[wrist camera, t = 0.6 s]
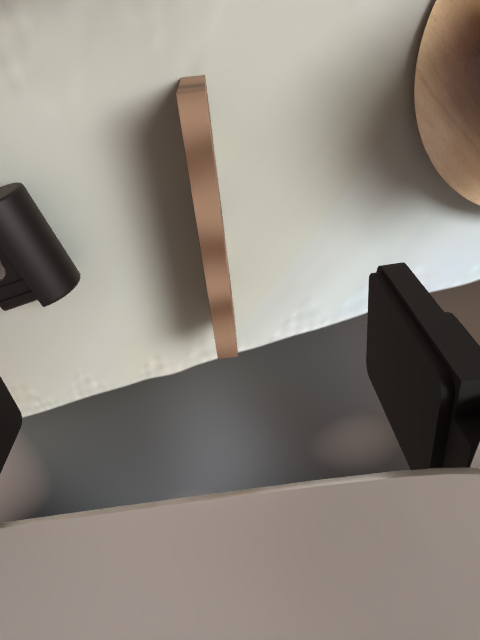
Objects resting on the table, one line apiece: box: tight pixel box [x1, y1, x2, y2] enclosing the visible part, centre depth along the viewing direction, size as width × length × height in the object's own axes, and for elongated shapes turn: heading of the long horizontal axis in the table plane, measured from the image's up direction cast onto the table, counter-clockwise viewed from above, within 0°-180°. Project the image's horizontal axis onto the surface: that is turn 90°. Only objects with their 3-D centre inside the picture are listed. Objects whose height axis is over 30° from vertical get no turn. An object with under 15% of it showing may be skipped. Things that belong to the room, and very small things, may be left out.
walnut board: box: [176, 75, 238, 359], centre depth 42 cm, size 24×2×8 cm, turn 5°
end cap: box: [0, 183, 80, 311], centre depth 42 cm, size 10×7×7 cm
